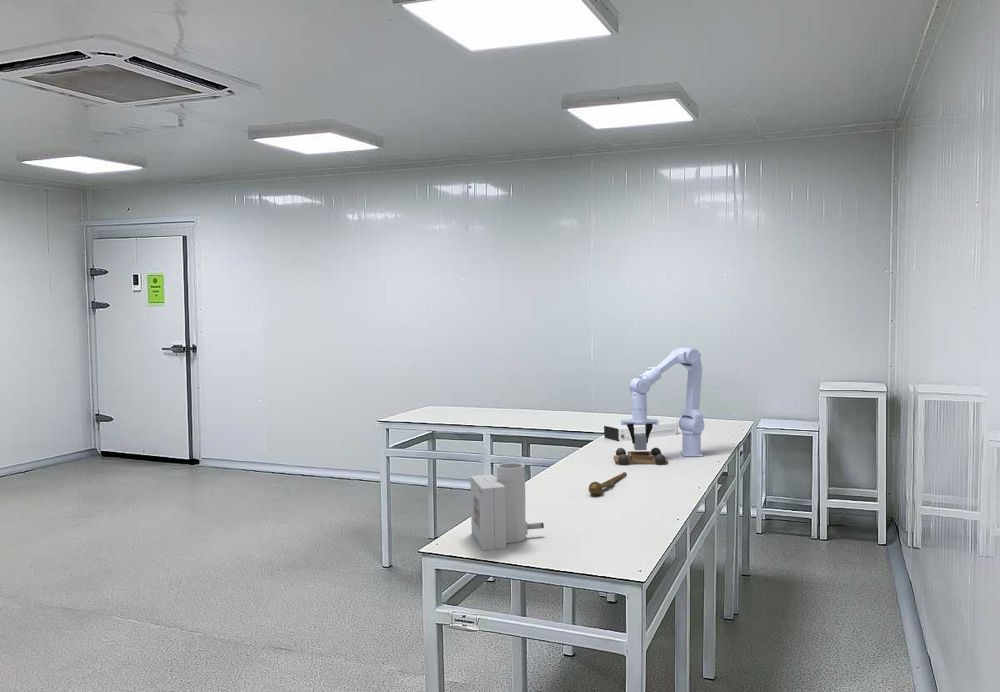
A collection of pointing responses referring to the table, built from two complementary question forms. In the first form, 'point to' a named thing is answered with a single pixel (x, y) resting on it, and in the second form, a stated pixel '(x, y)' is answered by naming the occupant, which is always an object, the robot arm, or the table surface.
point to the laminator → (640, 430)
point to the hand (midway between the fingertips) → (639, 443)
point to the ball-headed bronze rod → (603, 485)
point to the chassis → (640, 457)
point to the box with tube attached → (500, 507)
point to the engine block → (640, 442)
